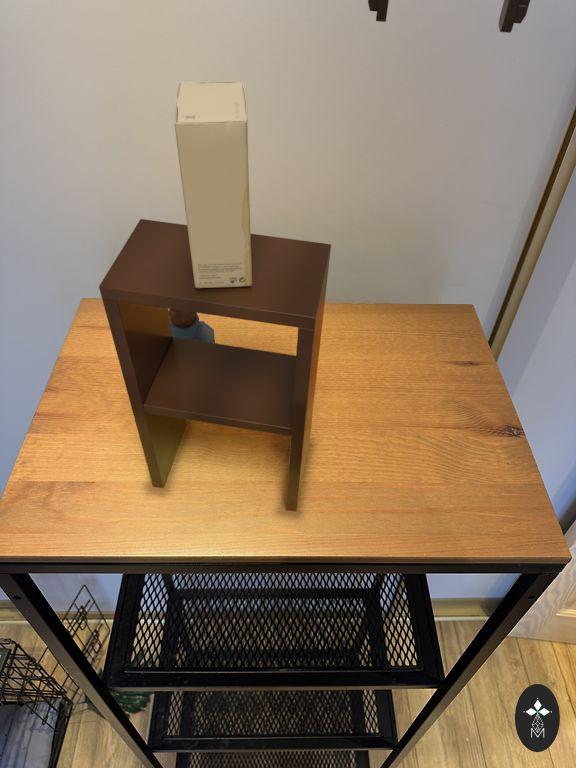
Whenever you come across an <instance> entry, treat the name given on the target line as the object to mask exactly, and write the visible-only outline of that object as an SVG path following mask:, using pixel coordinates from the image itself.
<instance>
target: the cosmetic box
mask: <svg viewBox="0 0 576 768" xmlns="http://www.w3.org/2000/svg"><path fill="white" fill-rule="evenodd" d="M246 94H247V93H246V89H245V82H243V81H181V82H178V83H177V89H176V94H175V101H174V102H175V104H174V132H175V140H176V141H175V142H176V147H177V149H176V150H177V155H178V164H179V171H180V172H179V173H180V179H181V187H182V195H183V204H184V212H185V218H186V225H187V228H188V236H189V244H190V252H191V259H192V267H193V275H194V284H195V288H218V287H219V288H220V287H242V286H252V260H251V234H252V233H251V208H250V179H249V177H250V176H249V175H250V174H249V173H250V172H249V138H248V137H249V135H248V134H249V133H248V130H249V129H248V128H249V127H248V103H247V95H246Z"/></svg>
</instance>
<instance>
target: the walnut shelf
mask: <svg viewBox="0 0 576 768" xmlns="http://www.w3.org/2000/svg"><path fill="white" fill-rule="evenodd" d="M331 250H332V244H330V243H324V242H316V241H309V240H303V239H302V240H301V239H293V238H286V237H279V236H271V235H263V234H257V233H251V260H252V286H242V287H220V288H219V287H218V288H195V284H194V275H193V267H192V259H191V252H190V244H189V236H188V228H187V224H184V223H183V224H182V223H174V222H166V221H161V220H152V219H144V218H140V219H139V221H138V222H137V224H136V226H135V227H134V228H133V230H132V232H131V234H130V235H129V237H128V238H127V240H126V241H125V243H124V245H123V246H122V248H121V250H120V252H119V253H118V255H117V256H116V258H115V259H114V261H113V263H112V265H111V266H110V268H109V269H108V271H107V272H106V274H105V276H104V277H103V279H102V280H101V282H100V284H99V285H98V289H99V292H100V297H101V299H102V300H101V301H102V305H103V307H104V311H105V315H106V318H107V322H108V326H109V330H110V333H111V337H112V341H113V345H114V349H115V352H116V355H117V360H118V363H119V368H120V371H121V374H122V377H123V381H124V386H125V389H126V392H127V396H128V401H129V405H130V407H131V411H132V415H133V419H134V423H135V426H136V430H137V433H138V436H139V440H140V445H141V446H142V447H141V448H142V451H143V455H144V459H145V462H146V466H147V470H148V473H149V477H150V480H151V485H152V487H153V488H159V489H164V488H165V485H166V483H167V480H168V477H169V474H170V471H171V468H172V465H173V463H174V460H175V457H176V454H177V452H178V450H179V447H180V445H181V441H182V439H183V436H184V432H185V431H186V427H187V425H188V424H187V420H188V421H193V422H199V423H206V424H212V425H216V426H217V425H219V426H222V427H223V426H224V427H229V428H236V429H243V430H247V431H255V432H260V433H266V434H273V435H277V436H278V435H279V436H285V437H290V440H289V441H290V443H289V454H288V455H289V458H288V471H287V484H286V485H287V486H286V498H285V499H286V500H285V510H286V511H291V512H294V513H295V512H297V511H298V507H299V501H300V496H301V490H302V485H303V479H304V474H305V468H306V463H307V457H308V451H309V446H310V439H311V431H312V430H311V429H312V422H313V421H312V420H313V412H314V403H315V395H316V386H317V385H316V384H317V376H318V366H319V356H320V350H321V341H322V332H323V331H322V330H323V323H324V322H323V320H324V315H325V314H324V313H325V305H326V295H327V286H328V277H329V270H330V269H329V268H330V259H331ZM169 309H175V310H182V311H189V312H196V313H197V314H202V315H203V314H204V315H211V316H215V317H216V316H217V317H224V318H231V319H237V320H245V321H249V322H250V321H251V322H257V323H258V322H259V323H264V324H272V325H279V326H286V327H290V328H291V327H292V328H297V339H296V340H297V341H296V353H295V354H296V355H293V354H287V353H282V352H281V353H280V352H274V351H269V350H261V349H255V348H248V347H242V346H235V345H229V344H221V343H216V342H215V343H209V342H203V341H196V340H189V339H183V338H176V337H173V336H172V330H171V323H170V317H169Z"/></svg>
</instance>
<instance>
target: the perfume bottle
mask: <svg viewBox="0 0 576 768" xmlns="http://www.w3.org/2000/svg"><path fill="white" fill-rule="evenodd" d="M168 311H169V317H170V323H171V330H172V336H173V337H176V338H183V339H189V340H196V341H203V342H209V343H216V340H215V339H216V338H215V330H214V328H213V327H212V326H211V325H209V324H208V323H206V321H204V320H200V317H199V315H198V313H196V312H189V311H182V310H175V309H169V308H168Z"/></svg>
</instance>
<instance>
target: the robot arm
mask: <svg viewBox="0 0 576 768" xmlns="http://www.w3.org/2000/svg"><path fill="white" fill-rule="evenodd" d="M389 2H390V0H367V4H368V9H369V12H376V16H375V22H380V23H381V22H382V23H386V22H387V17H388V12H389V11H388V9H389ZM530 3H531V0H503V3H502V7H501V11H500V14H499V18H498V29H499V32H500V33H508V34H510V33H512V31H513V27H514V24H519V25H521V24H522V22H523V21H524V19H525V17H526V16H527V14H528V9H529V6H530Z"/></svg>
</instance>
